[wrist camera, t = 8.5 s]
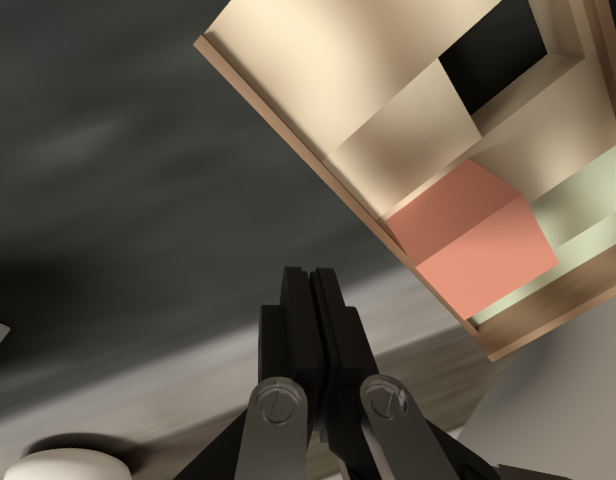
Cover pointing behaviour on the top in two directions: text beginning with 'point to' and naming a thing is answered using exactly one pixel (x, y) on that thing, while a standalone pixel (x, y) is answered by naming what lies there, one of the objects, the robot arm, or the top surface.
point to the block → (472, 238)
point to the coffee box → (3, 331)
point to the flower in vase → (68, 466)
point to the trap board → (444, 127)
